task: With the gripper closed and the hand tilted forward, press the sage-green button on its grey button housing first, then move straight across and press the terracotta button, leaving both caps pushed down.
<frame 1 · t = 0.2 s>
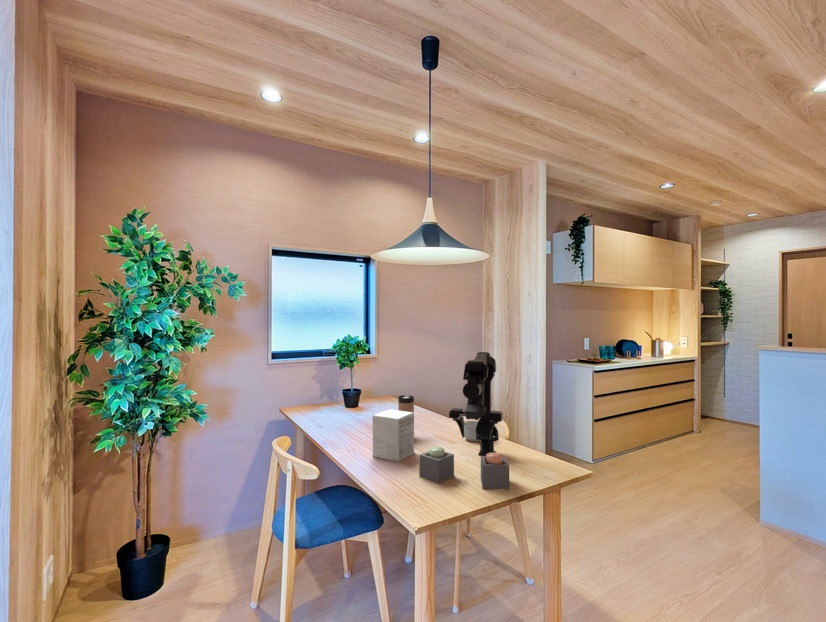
hand: (475, 438, 148), 14 cm above the table, tool pointing down, fingers open, 9 cm apart
grey button housing: (436, 476, 150), on the table
terracotta button housing: (494, 483, 143), on the table
teacup: (474, 439, 196), on the table
green button: (436, 453, 150), point 9 cm above the table, slide at 0.0 cm
terracotta button: (494, 459, 143), point 9 cm above the table, slide at 0.0 cm
travel mug: (406, 438, 197), on the table
supplement box: (393, 455, 173), on the table
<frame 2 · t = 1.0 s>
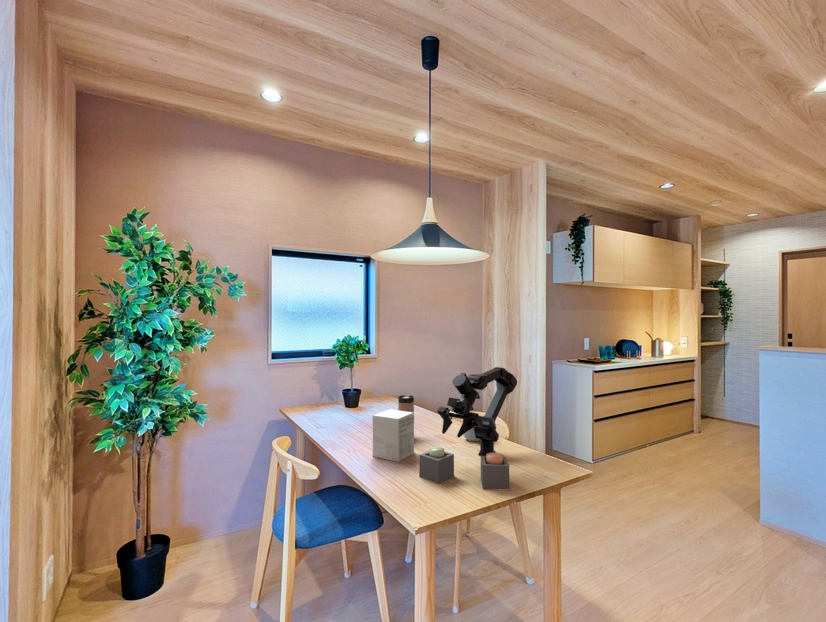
hand: (450, 435, 156), 13 cm above the table, tool tilted 45°, fingers open, 7 cm apart
nothing on the table moved.
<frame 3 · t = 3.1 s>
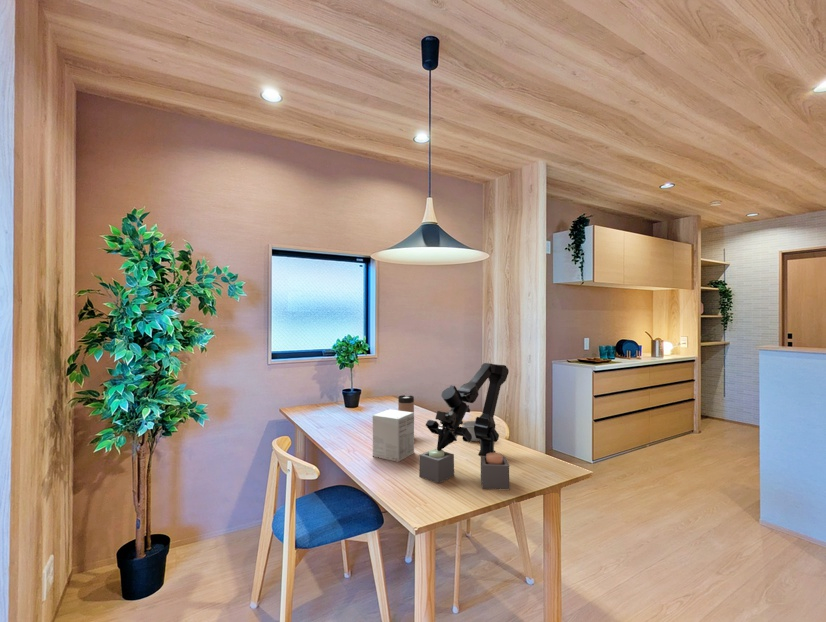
hand: (438, 450, 150), 9 cm above the table, tool tilted 45°, fingers closed, pressing on green button
green button: (436, 455, 150), point 8 cm above the table, slide at 0.9 cm, touching gripper
everything else where it was.
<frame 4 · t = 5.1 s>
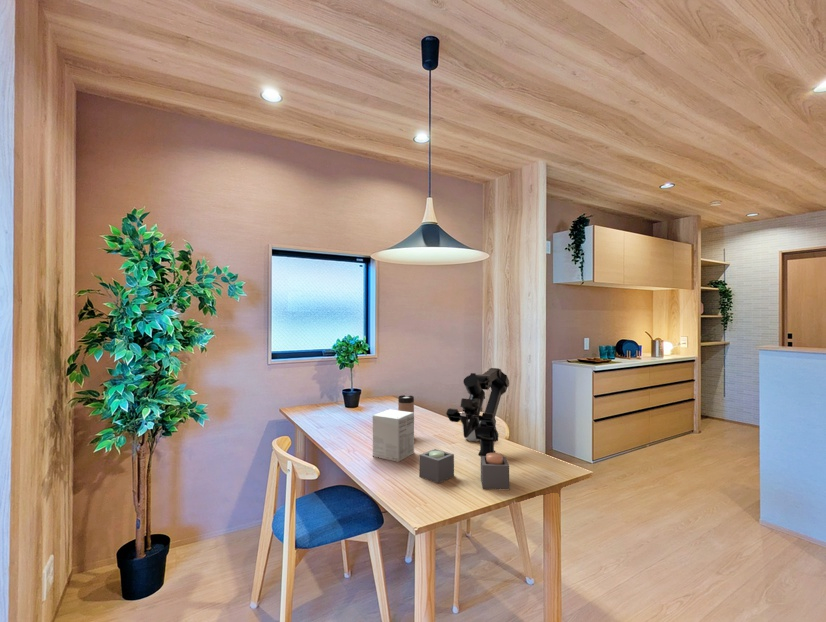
hand: (465, 436, 153), 14 cm above the table, tool tilted 45°, fingers closed
green button: (436, 457, 150), point 7 cm above the table, slide at 1.6 cm
everything else where it was.
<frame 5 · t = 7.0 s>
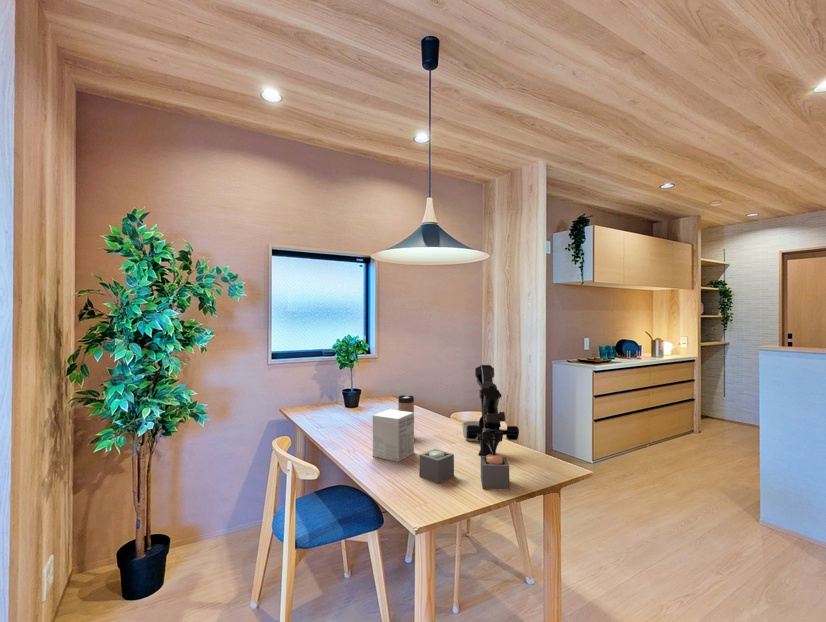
hand: (493, 454, 144), 10 cm above the table, tool tilted 45°, fingers closed, pressing on terracotta button
terracotta button: (494, 460, 143), point 8 cm above the table, slide at 0.5 cm, touching gripper
everything else where it was.
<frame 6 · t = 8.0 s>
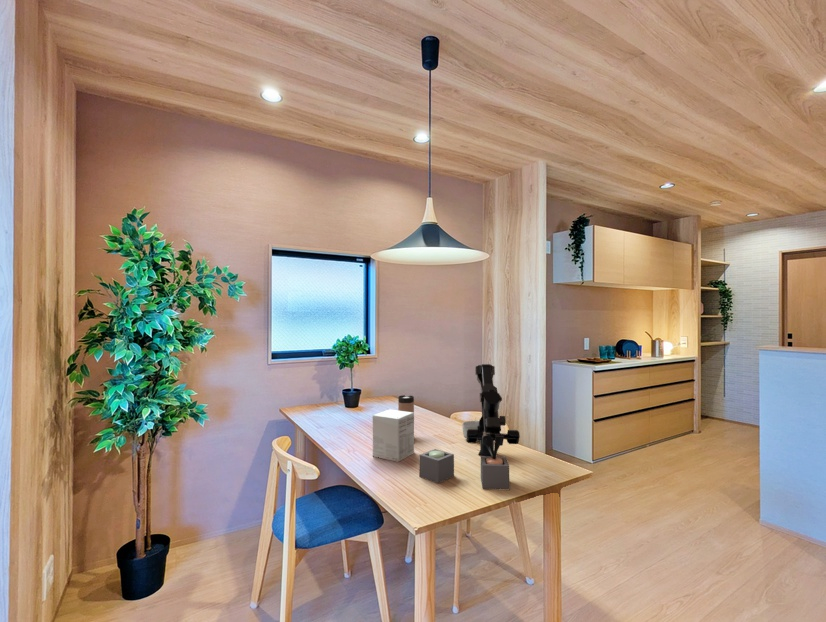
hand: (494, 458, 143), 9 cm above the table, tool tilted 45°, fingers closed
terracotta button: (494, 464, 143), point 7 cm above the table, slide at 1.6 cm
everything else where it was.
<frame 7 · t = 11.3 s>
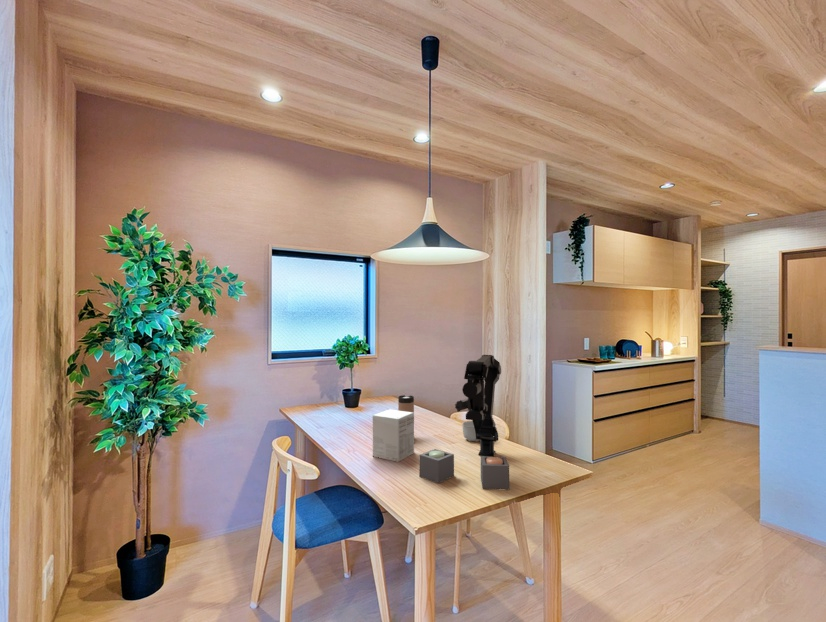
hand: (477, 433, 160), 13 cm above the table, tool pointing down, fingers closed
nothing on the table moved.
at the end: green button slide at 1.6 cm; terracotta button slide at 1.6 cm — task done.
